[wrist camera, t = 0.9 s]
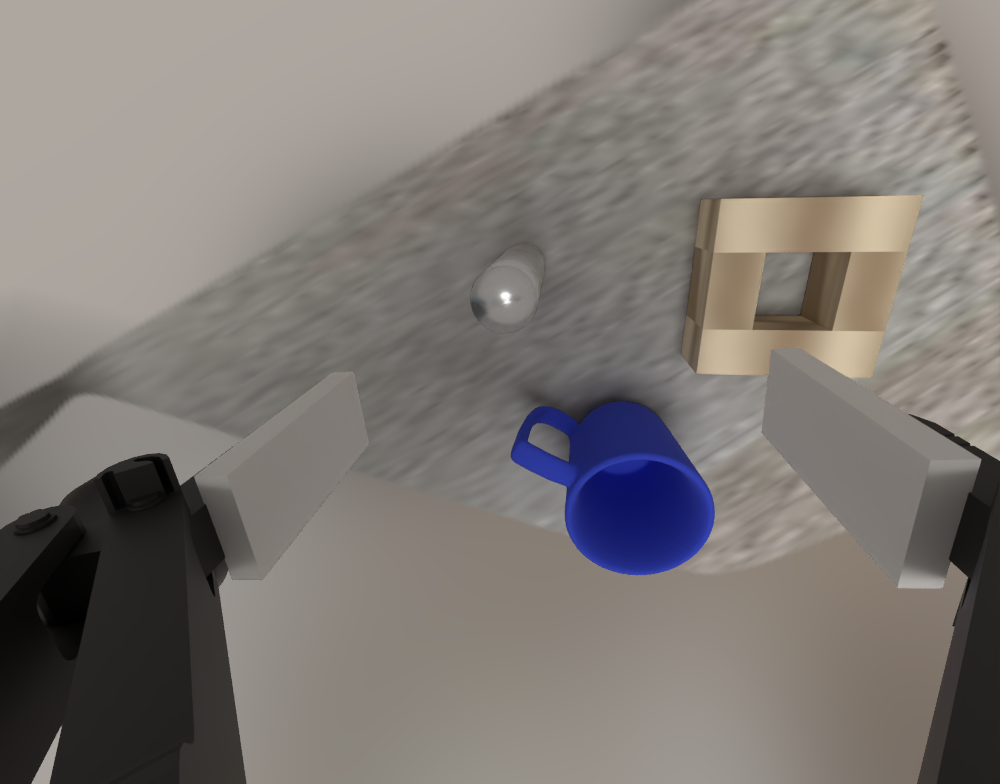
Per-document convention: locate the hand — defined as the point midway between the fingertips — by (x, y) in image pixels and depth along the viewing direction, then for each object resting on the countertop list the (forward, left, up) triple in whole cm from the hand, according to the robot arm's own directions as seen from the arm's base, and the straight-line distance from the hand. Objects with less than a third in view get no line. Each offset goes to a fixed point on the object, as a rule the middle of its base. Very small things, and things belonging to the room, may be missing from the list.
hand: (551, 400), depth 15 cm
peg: (-2, +2, -19) cm, 19 cm away
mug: (+3, -10, -19) cm, 22 cm away
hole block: (+14, +1, -19) cm, 23 cm away
